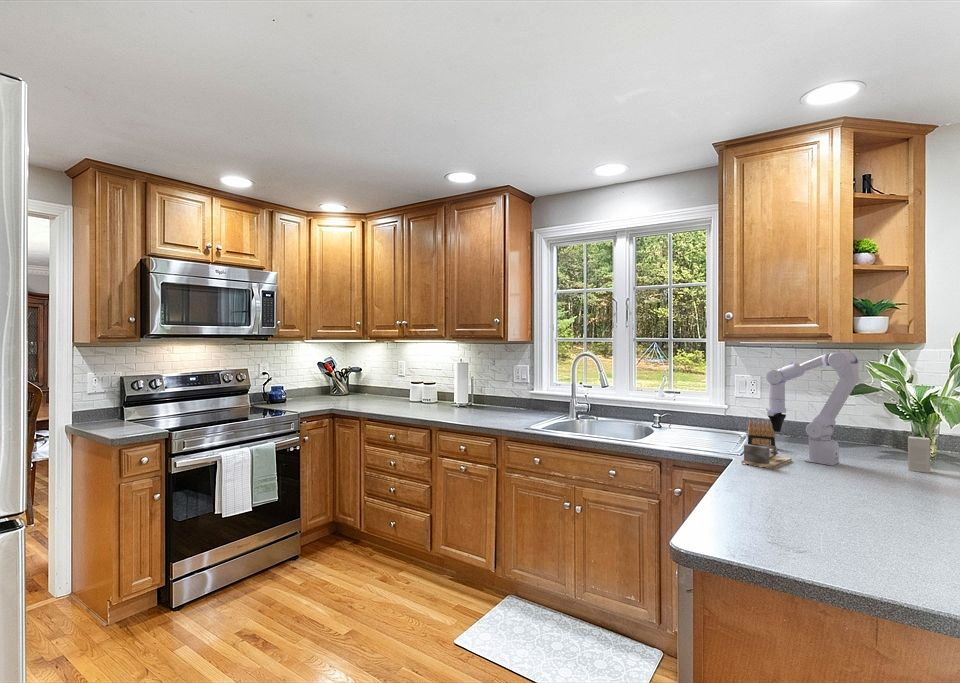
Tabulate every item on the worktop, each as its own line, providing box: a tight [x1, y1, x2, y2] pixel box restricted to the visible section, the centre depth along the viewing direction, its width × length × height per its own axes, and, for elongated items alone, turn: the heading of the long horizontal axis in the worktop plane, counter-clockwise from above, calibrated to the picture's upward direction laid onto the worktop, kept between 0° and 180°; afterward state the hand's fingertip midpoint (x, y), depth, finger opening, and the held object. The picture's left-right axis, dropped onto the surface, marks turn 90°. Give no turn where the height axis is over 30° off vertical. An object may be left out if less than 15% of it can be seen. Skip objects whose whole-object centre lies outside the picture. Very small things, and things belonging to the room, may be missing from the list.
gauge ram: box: [759, 444, 779, 457], centre depth 200 cm, size 8×8×4 cm
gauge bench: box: [741, 443, 793, 470], centre depth 200 cm, size 11×19×7 cm, turn 130°
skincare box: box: [907, 435, 931, 474], centre depth 186 cm, size 6×4×12 cm
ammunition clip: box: [747, 419, 776, 446], centre depth 228 cm, size 11×2×12 cm, turn 56°
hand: (777, 431), depth 214 cm, fingers closed
